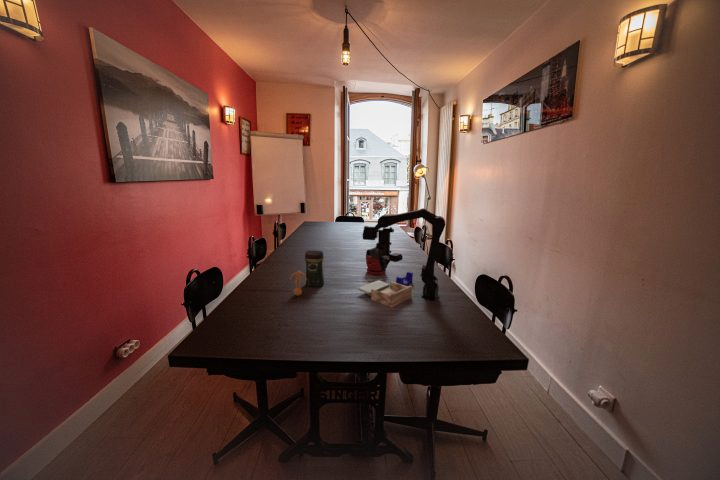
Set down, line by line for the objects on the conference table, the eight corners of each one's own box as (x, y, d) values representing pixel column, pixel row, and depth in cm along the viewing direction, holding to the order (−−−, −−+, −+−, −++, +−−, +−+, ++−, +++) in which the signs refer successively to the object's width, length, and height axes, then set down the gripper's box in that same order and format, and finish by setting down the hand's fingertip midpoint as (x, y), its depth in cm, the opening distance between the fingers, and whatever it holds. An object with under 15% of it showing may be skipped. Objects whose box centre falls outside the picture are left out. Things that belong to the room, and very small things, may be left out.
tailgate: (389, 284, 151) (378, 280, 156) (369, 293, 140) (358, 287, 145) (389, 287, 152) (378, 282, 156) (369, 296, 140) (358, 290, 145)
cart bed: (411, 297, 143) (412, 286, 142) (391, 307, 132) (392, 295, 131) (390, 290, 151) (391, 279, 150) (370, 299, 140) (371, 287, 139)
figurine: (288, 296, 141) (287, 272, 138) (291, 291, 147) (290, 268, 144) (305, 297, 141) (305, 273, 138) (307, 292, 147) (307, 269, 144)
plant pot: (361, 270, 181) (362, 251, 179) (380, 268, 187) (381, 249, 184) (371, 277, 170) (372, 257, 167) (391, 274, 175) (392, 255, 173)
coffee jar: (325, 282, 160) (325, 249, 156) (322, 287, 153) (321, 253, 149) (307, 281, 161) (307, 248, 157) (303, 286, 154) (302, 252, 150)
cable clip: (405, 281, 166) (405, 270, 165) (412, 283, 163) (412, 272, 162) (393, 286, 157) (393, 276, 156) (400, 289, 154) (401, 278, 153)
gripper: (358, 240, 144) (358, 271, 148) (389, 246, 132) (388, 279, 135) (373, 237, 152) (373, 266, 156) (403, 242, 140) (402, 273, 143)
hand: (383, 271), depth 147 cm, fingers closed
